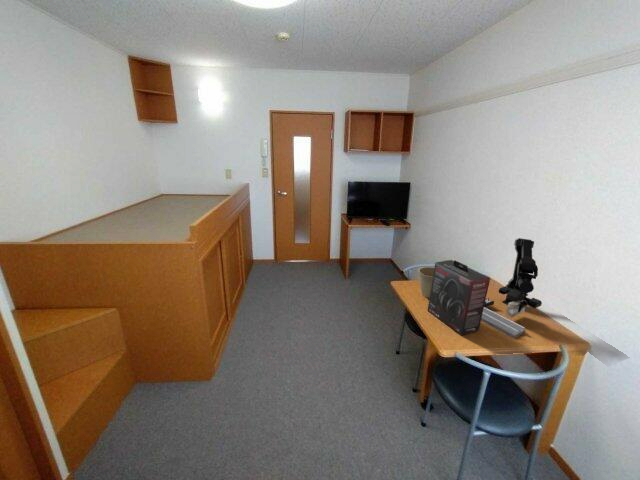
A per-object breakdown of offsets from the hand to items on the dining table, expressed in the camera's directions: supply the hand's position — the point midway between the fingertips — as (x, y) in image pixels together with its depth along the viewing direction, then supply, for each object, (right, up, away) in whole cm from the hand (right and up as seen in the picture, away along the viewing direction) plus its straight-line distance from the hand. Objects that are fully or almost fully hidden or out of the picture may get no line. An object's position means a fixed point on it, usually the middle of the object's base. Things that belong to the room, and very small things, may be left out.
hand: (515, 310), depth 153 cm
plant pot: (-38, +3, +24) cm, 45 cm away
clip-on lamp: (-15, 0, +15) cm, 21 cm away
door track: (-12, -6, -3) cm, 14 cm away
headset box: (-35, -5, -1) cm, 35 cm away
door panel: (0, -2, 0) cm, 2 cm away
